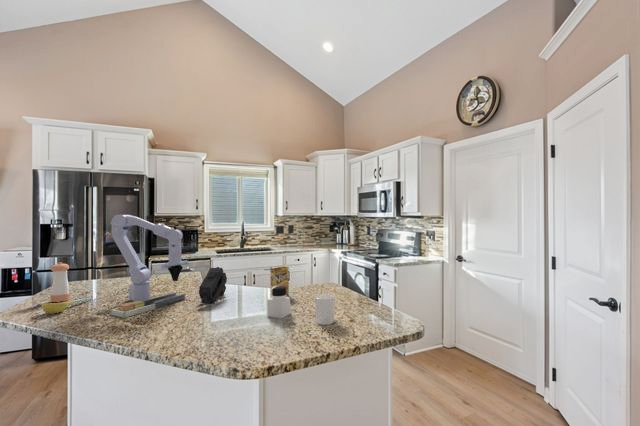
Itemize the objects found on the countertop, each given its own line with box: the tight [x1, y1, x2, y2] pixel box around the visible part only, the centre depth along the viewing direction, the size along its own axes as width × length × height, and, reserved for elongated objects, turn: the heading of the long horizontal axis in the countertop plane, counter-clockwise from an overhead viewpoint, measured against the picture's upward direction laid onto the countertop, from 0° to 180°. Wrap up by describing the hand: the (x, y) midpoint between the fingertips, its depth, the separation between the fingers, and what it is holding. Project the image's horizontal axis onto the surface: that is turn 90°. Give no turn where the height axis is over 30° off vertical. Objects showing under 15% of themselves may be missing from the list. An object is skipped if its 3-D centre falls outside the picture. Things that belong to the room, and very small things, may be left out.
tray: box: [110, 304, 156, 319], centre depth 131 cm, size 9×13×3 cm
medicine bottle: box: [266, 286, 291, 320], centre depth 128 cm, size 7×7×12 cm
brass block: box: [129, 301, 145, 309], centre depth 132 cm, size 4×4×4 cm
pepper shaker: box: [50, 262, 71, 303], centre depth 152 cm, size 7×7×19 cm
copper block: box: [118, 302, 134, 312], centre depth 129 cm, size 4×4×4 cm
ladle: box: [41, 298, 94, 315], centre depth 141 cm, size 9×26×6 cm, turn 0°
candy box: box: [269, 265, 290, 298], centre depth 159 cm, size 9×4×15 cm, turn 125°
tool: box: [198, 266, 228, 304], centre depth 150 cm, size 7×21×16 cm, turn 174°
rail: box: [143, 292, 187, 309], centre depth 144 cm, size 10×16×4 cm, turn 154°
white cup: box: [314, 293, 336, 326], centre depth 119 cm, size 8×8×10 cm
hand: (175, 280), depth 153 cm, fingers closed
